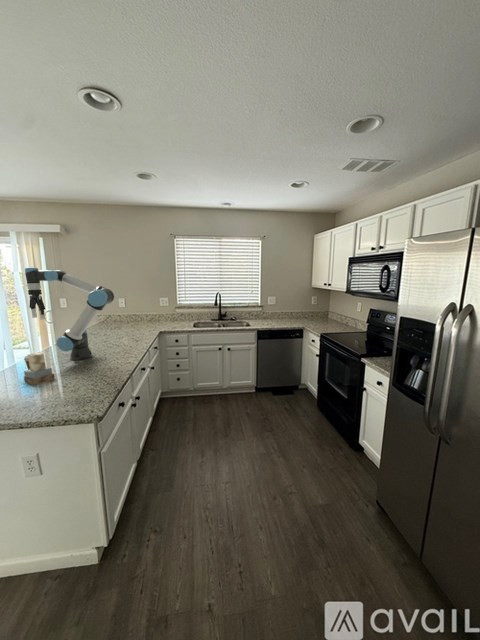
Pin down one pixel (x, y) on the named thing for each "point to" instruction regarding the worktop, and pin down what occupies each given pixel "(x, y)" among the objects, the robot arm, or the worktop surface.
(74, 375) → the worktop surface
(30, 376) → the top slab
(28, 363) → the disposable coffee cup
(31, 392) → the worktop surface
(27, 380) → the base slab
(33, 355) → the birch block
